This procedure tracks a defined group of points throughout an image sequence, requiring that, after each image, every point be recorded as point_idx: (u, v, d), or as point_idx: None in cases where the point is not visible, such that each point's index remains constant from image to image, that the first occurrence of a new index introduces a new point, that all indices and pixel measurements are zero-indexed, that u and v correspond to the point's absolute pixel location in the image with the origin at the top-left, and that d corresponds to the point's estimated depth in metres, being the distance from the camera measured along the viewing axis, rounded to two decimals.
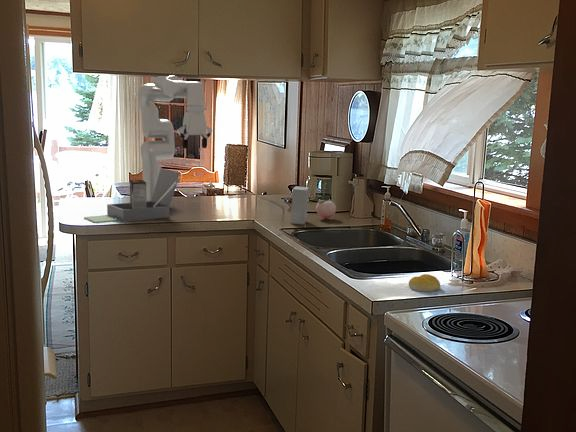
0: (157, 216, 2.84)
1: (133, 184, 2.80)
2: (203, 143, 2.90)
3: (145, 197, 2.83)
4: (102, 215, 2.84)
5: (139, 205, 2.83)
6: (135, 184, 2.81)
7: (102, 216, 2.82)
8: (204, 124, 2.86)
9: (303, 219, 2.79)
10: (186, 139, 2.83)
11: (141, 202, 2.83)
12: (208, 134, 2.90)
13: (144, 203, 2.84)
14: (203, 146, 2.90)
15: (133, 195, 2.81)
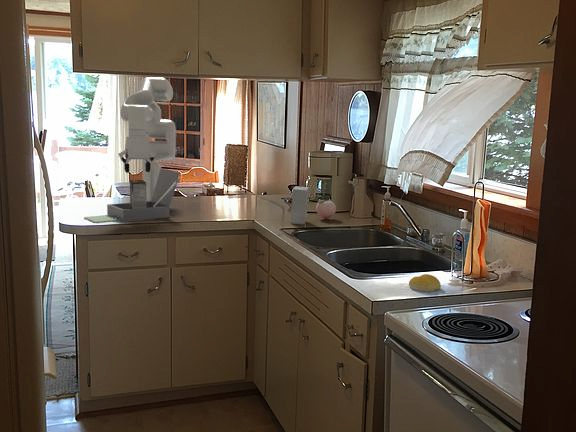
0: (157, 216, 2.84)
1: (133, 184, 2.80)
2: (146, 167, 2.86)
3: (145, 197, 2.83)
4: (102, 215, 2.84)
5: (139, 205, 2.83)
6: (135, 184, 2.81)
7: (102, 216, 2.82)
8: (147, 148, 2.83)
9: (303, 219, 2.79)
10: None
11: (141, 202, 2.83)
12: (151, 158, 2.86)
13: (144, 203, 2.84)
14: (146, 170, 2.87)
15: (133, 195, 2.81)
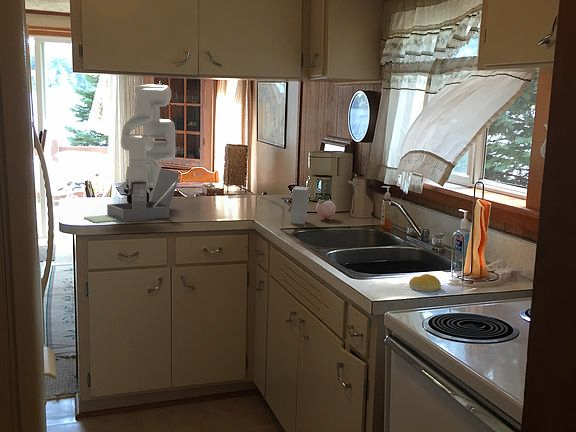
0: (157, 216, 2.84)
1: (133, 184, 2.80)
2: None
3: (145, 197, 2.83)
4: (102, 215, 2.84)
5: (139, 205, 2.83)
6: (135, 184, 2.81)
7: (102, 216, 2.82)
8: (147, 178, 2.85)
9: (303, 219, 2.79)
10: (130, 194, 2.83)
11: (141, 202, 2.83)
12: (150, 188, 2.89)
13: (144, 203, 2.84)
14: None
15: (133, 195, 2.81)
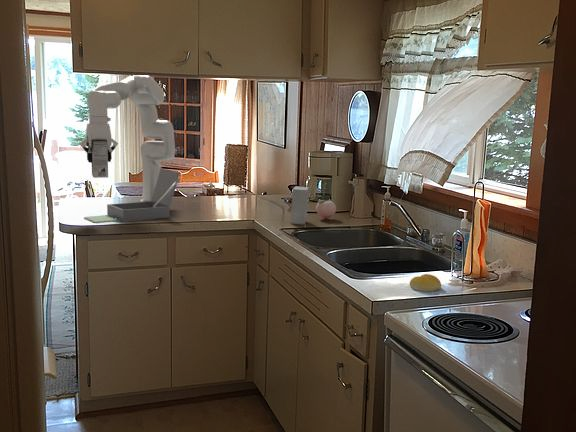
0: (157, 216, 2.84)
1: (93, 141, 2.67)
2: None
3: (106, 155, 2.69)
4: (102, 215, 2.84)
5: (100, 164, 2.69)
6: (95, 141, 2.67)
7: (102, 216, 2.82)
8: (109, 135, 2.72)
9: (303, 219, 2.79)
10: (90, 153, 2.69)
11: (101, 161, 2.69)
12: (112, 147, 2.75)
13: (105, 162, 2.70)
14: None
15: (93, 153, 2.67)
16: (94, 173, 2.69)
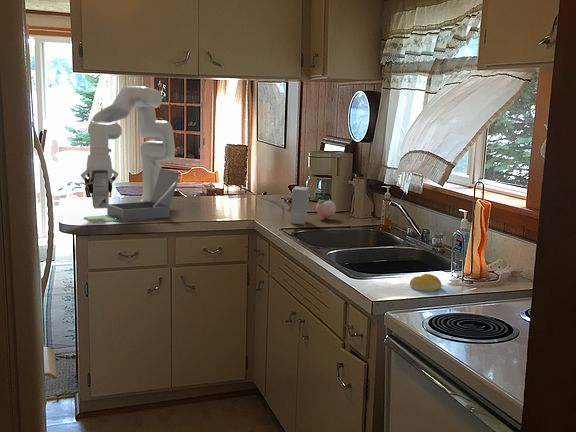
0: (157, 216, 2.84)
1: (94, 173, 2.69)
2: (108, 187, 2.77)
3: (107, 186, 2.72)
4: (102, 215, 2.84)
5: (100, 195, 2.71)
6: (96, 173, 2.69)
7: (102, 216, 2.82)
8: (109, 166, 2.74)
9: (303, 219, 2.79)
10: (91, 184, 2.72)
11: (102, 192, 2.71)
12: (113, 178, 2.77)
13: (106, 193, 2.72)
14: (108, 190, 2.78)
15: (94, 184, 2.70)
16: (95, 204, 2.71)
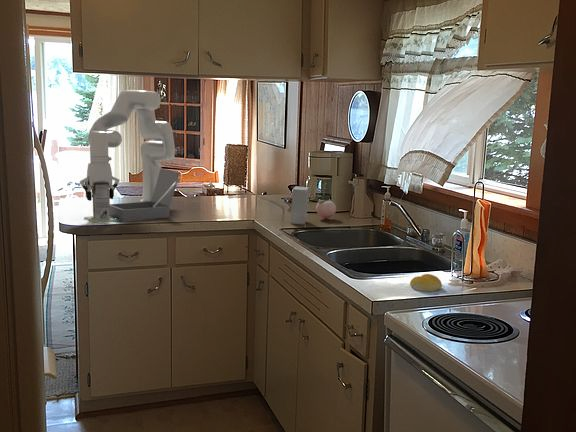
0: (157, 216, 2.84)
1: (95, 185, 2.70)
2: (110, 194, 2.78)
3: (108, 198, 2.73)
4: None
5: (102, 207, 2.73)
6: (97, 185, 2.70)
7: None
8: (109, 175, 2.75)
9: (303, 219, 2.79)
10: (90, 191, 2.72)
11: (103, 204, 2.73)
12: (115, 184, 2.78)
13: (107, 205, 2.73)
14: (110, 197, 2.79)
15: (95, 196, 2.71)
16: (96, 216, 2.72)
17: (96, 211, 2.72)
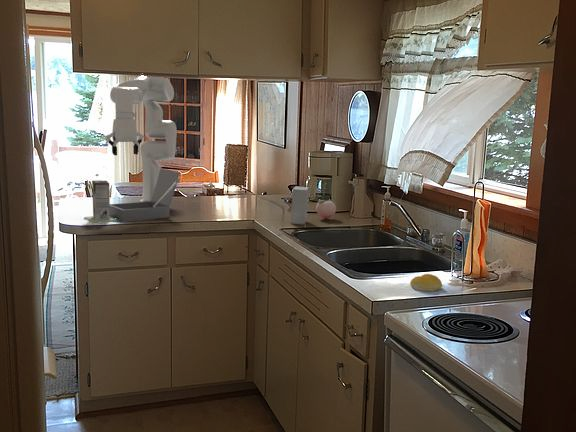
0: (157, 216, 2.84)
1: (95, 185, 2.70)
2: (134, 149, 2.87)
3: (108, 198, 2.73)
4: None
5: (102, 207, 2.73)
6: (97, 185, 2.70)
7: None
8: (134, 130, 2.83)
9: (303, 219, 2.79)
10: (115, 146, 2.80)
11: (103, 204, 2.73)
12: (139, 140, 2.87)
13: (107, 205, 2.73)
14: (134, 152, 2.87)
15: (95, 196, 2.71)
16: (96, 216, 2.72)
17: (96, 211, 2.72)
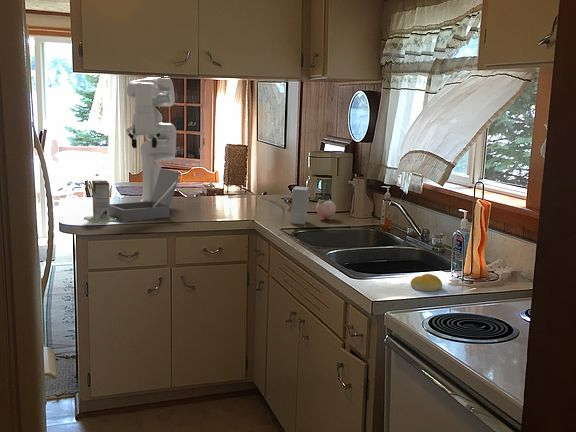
0: (157, 216, 2.84)
1: (95, 185, 2.70)
2: (153, 143, 2.95)
3: (108, 198, 2.73)
4: None
5: (102, 207, 2.73)
6: (97, 185, 2.70)
7: None
8: (153, 124, 2.92)
9: (303, 219, 2.79)
10: None
11: (103, 204, 2.73)
12: (158, 134, 2.95)
13: (107, 205, 2.73)
14: (153, 146, 2.96)
15: (95, 196, 2.71)
16: (96, 216, 2.72)
17: (96, 211, 2.72)
